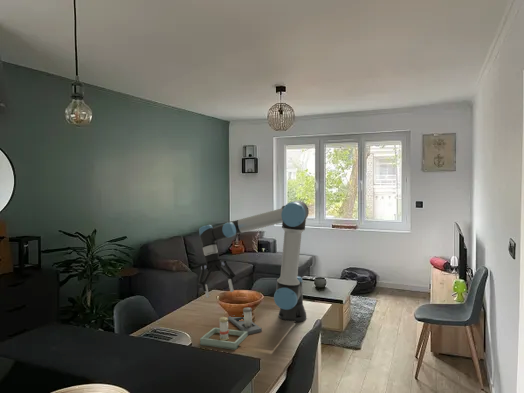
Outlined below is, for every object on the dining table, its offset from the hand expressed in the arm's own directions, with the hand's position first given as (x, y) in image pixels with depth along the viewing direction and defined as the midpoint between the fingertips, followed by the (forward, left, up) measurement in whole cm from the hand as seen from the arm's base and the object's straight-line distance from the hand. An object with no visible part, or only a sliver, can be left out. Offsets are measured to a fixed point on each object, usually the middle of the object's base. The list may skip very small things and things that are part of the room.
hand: (220, 294), depth 201 cm
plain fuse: (-15, -1, -16) cm, 22 cm away
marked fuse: (-9, +15, -16) cm, 24 cm away
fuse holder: (-11, -4, -17) cm, 21 cm away
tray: (-9, +15, -17) cm, 25 cm away
